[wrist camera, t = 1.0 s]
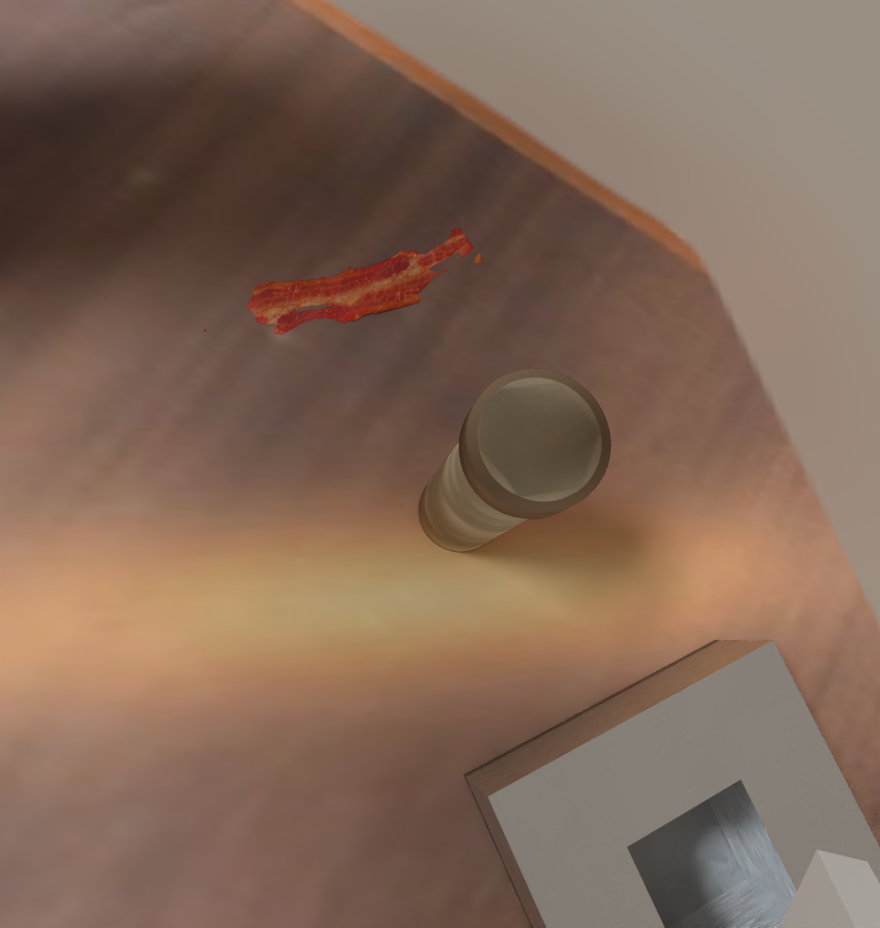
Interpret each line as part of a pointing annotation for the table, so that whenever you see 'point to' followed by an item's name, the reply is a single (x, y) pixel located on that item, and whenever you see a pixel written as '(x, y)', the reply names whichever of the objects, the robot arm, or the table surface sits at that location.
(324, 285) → the bacon strip
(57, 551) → the table surface
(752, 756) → the block
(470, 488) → the beige cylinder
